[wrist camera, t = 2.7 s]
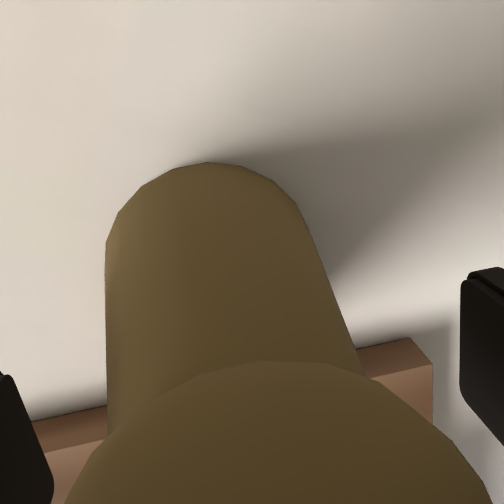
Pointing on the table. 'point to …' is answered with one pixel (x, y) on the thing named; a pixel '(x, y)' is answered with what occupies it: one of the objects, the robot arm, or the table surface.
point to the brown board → (96, 428)
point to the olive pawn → (245, 365)
